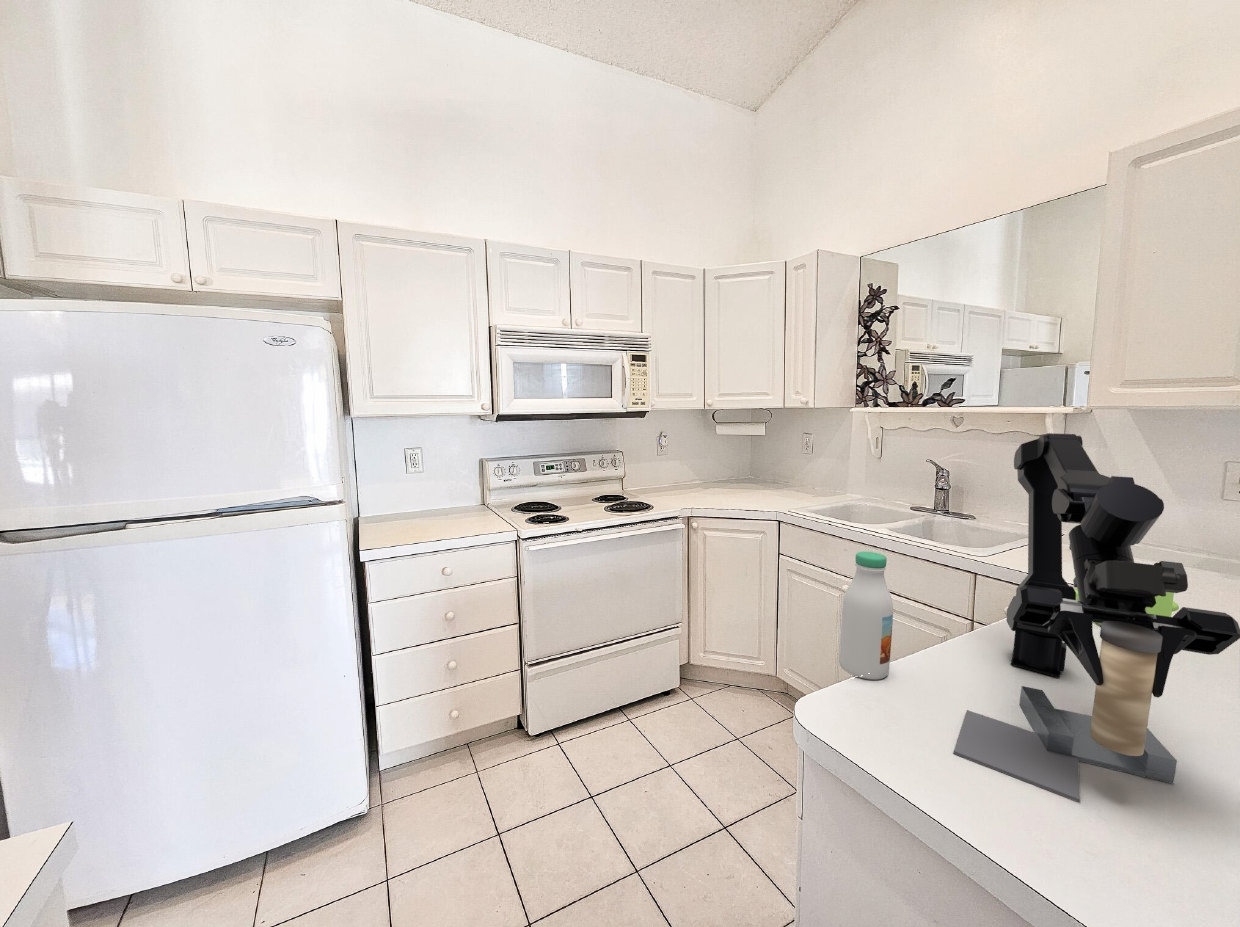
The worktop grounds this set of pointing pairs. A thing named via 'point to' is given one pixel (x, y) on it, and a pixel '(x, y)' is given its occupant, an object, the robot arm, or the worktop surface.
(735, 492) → the worktop surface
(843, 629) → the milk bottle
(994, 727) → the pad
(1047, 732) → the grey bracket
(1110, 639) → the plug
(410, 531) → the worktop surface
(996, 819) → the worktop surface
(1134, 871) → the worktop surface
